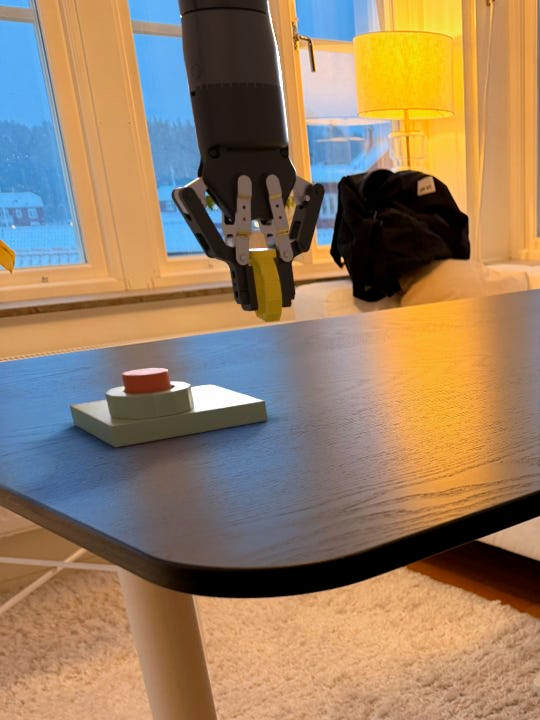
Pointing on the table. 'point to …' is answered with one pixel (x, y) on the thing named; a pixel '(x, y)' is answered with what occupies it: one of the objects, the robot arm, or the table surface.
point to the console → (165, 413)
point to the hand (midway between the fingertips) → (266, 307)
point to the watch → (266, 284)
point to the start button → (146, 380)
